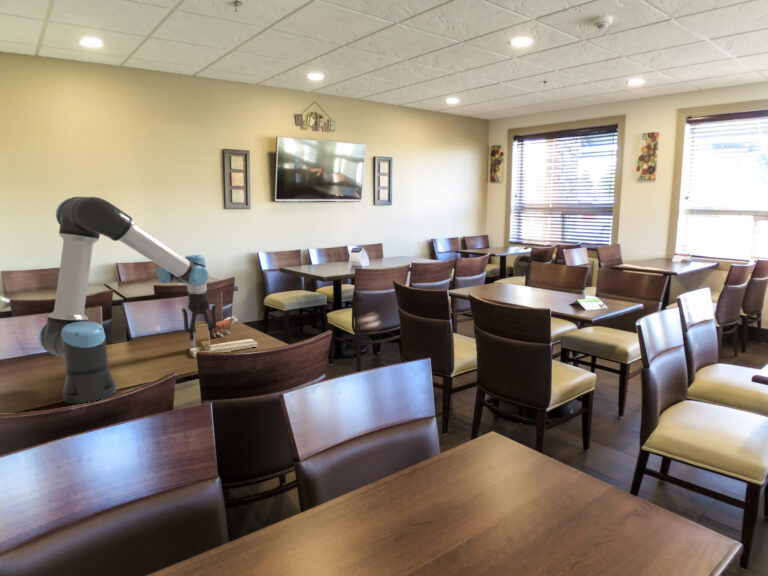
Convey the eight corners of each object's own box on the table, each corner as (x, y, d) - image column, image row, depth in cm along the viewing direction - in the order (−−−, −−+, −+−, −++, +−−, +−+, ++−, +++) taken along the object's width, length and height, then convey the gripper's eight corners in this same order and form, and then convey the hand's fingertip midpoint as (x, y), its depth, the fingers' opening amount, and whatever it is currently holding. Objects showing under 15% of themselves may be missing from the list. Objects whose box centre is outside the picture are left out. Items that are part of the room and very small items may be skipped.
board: (257, 347, 212) (257, 342, 212) (194, 358, 198) (194, 353, 198) (251, 342, 219) (251, 338, 218) (190, 353, 205) (189, 348, 204)
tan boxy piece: (214, 354, 203) (212, 328, 201) (202, 356, 200) (200, 330, 198) (206, 346, 214) (204, 321, 212) (194, 348, 212) (192, 323, 210)
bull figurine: (239, 332, 237) (238, 315, 235) (216, 339, 225) (215, 321, 224) (233, 330, 239) (232, 314, 237) (210, 337, 228) (209, 320, 226)
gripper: (217, 288, 214) (220, 340, 218) (172, 293, 204) (177, 347, 209) (222, 291, 208) (225, 344, 212) (176, 296, 198) (181, 351, 202)
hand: (201, 345), depth 210 cm, fingers closed on tan boxy piece, 5 cm apart
